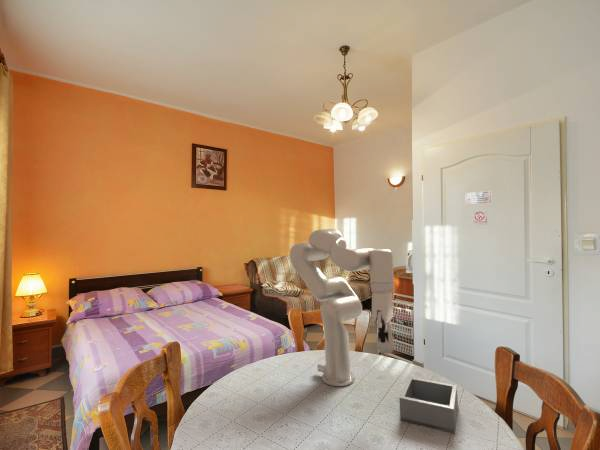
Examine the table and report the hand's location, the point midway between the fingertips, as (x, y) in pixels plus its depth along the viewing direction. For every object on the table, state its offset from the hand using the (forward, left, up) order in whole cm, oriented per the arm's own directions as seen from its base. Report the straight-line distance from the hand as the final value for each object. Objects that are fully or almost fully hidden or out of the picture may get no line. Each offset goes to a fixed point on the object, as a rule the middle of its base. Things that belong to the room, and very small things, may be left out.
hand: (385, 341), depth 107 cm
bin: (+13, +1, -21) cm, 25 cm away
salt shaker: (0, 0, -3) cm, 3 cm away
